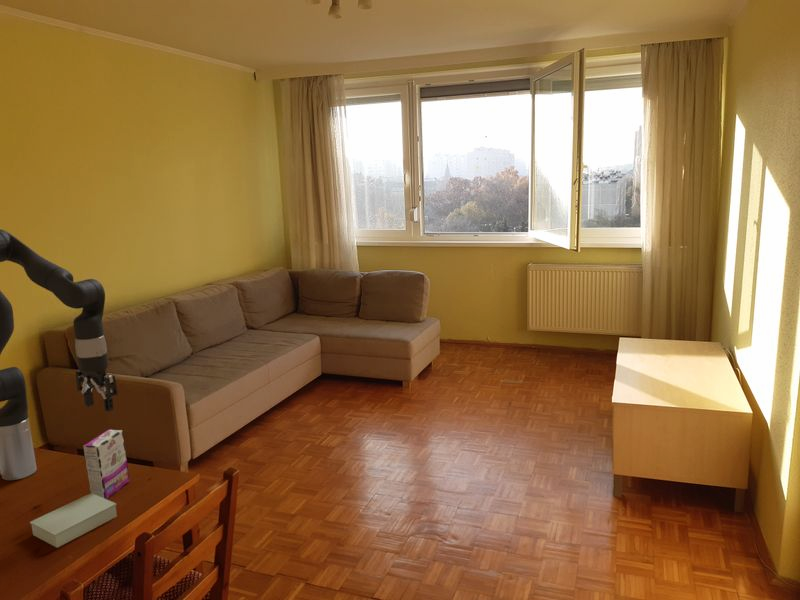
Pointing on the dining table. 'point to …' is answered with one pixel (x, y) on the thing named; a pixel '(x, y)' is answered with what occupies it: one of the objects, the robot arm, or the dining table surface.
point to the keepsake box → (73, 519)
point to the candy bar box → (106, 463)
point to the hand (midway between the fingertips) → (99, 408)
